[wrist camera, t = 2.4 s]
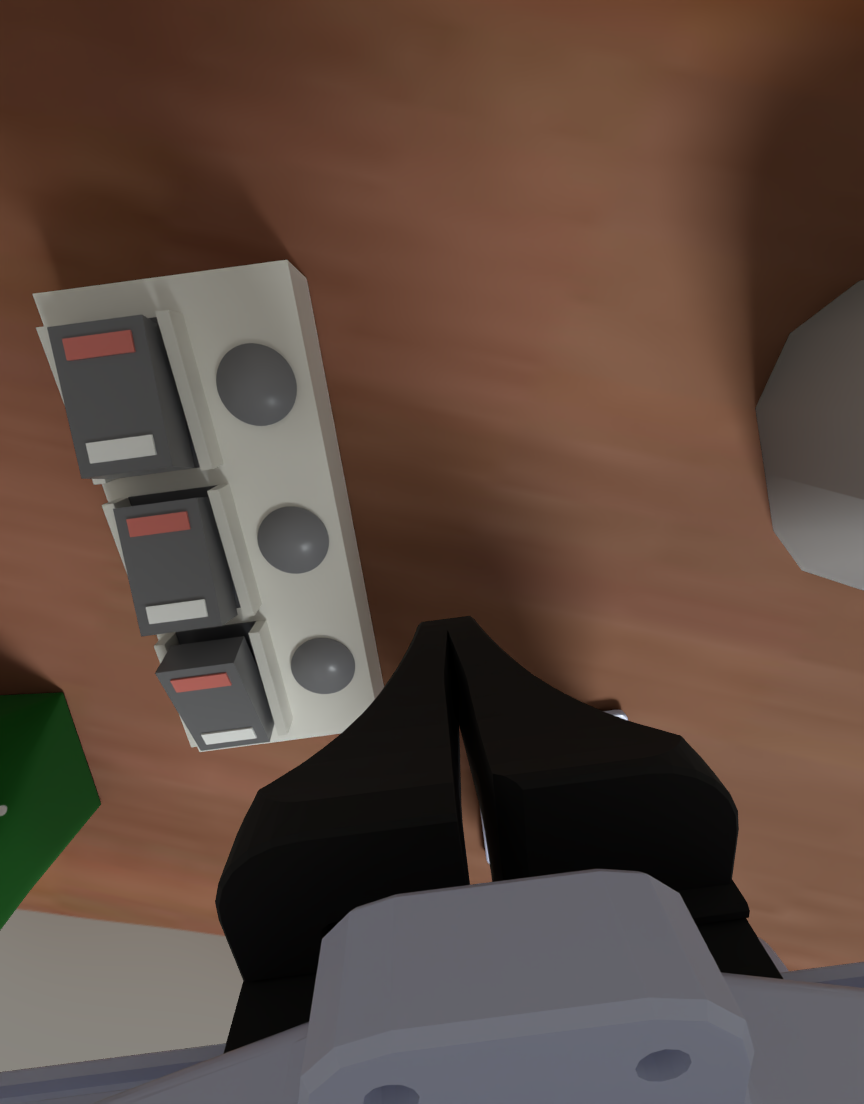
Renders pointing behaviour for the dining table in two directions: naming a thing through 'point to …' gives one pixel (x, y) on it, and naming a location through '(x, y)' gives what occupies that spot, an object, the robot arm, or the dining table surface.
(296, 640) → the switch panel
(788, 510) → the toilet tissue
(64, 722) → the milk carton
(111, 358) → the rocker
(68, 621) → the dining table surface
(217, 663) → the rocker
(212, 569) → the rocker
